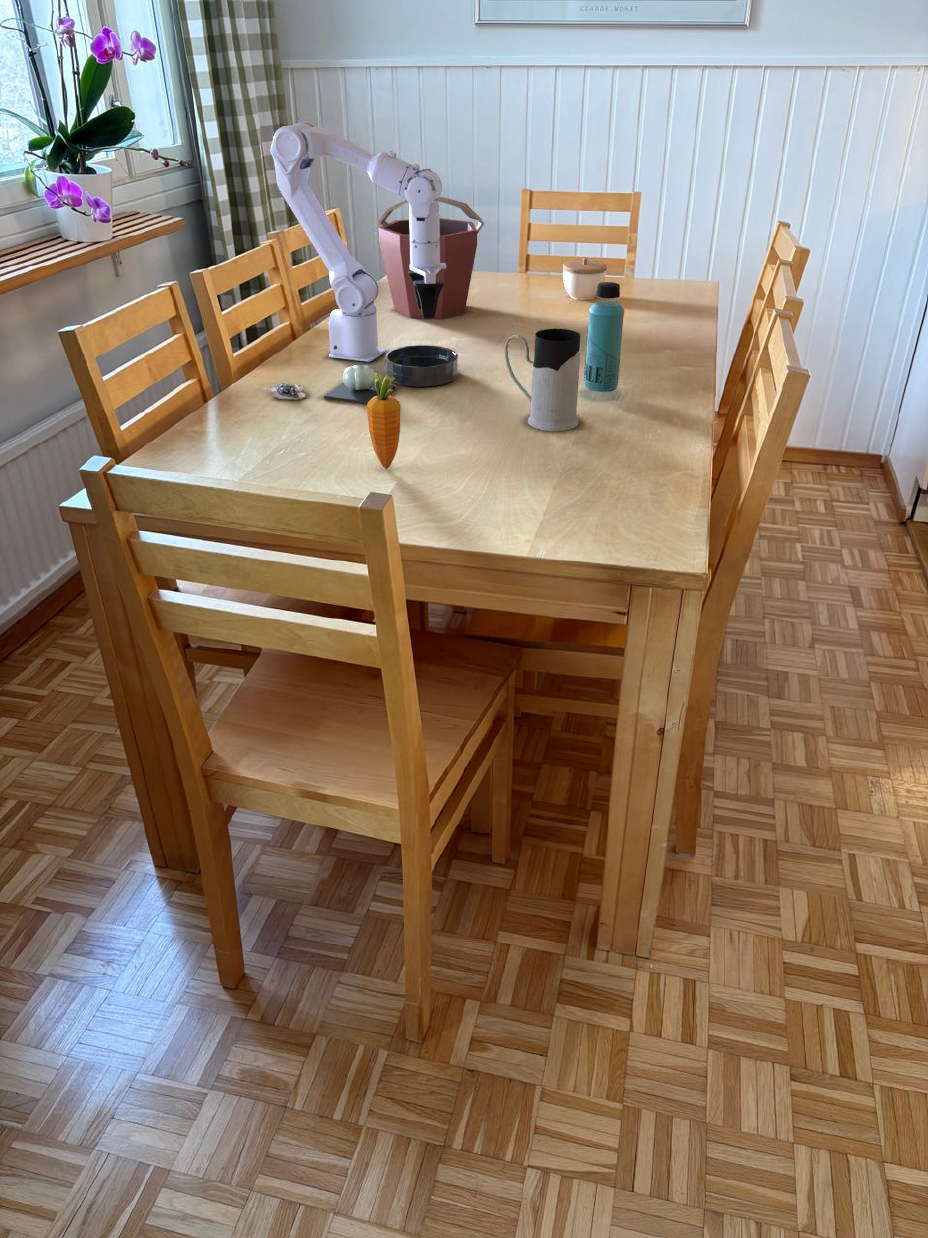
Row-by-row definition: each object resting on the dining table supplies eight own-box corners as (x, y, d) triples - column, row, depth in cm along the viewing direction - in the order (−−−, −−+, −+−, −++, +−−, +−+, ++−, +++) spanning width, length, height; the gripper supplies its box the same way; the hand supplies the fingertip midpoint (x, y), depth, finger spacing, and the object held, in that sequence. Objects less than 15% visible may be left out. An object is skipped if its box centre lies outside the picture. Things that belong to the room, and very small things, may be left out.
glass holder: (564, 434, 157) (569, 345, 149) (491, 418, 163) (492, 331, 155) (587, 418, 163) (593, 332, 155) (515, 403, 169) (518, 319, 161)
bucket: (498, 306, 226) (500, 194, 212) (447, 328, 210) (446, 208, 197) (414, 293, 237) (411, 185, 223) (361, 313, 221) (354, 198, 208)
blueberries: (292, 384, 178) (291, 374, 177) (317, 394, 173) (317, 384, 172) (262, 392, 174) (261, 382, 173) (287, 403, 169) (286, 393, 168)
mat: (323, 398, 172) (323, 395, 171) (348, 381, 180) (348, 379, 179) (373, 405, 169) (373, 402, 168) (395, 387, 177) (395, 385, 176)
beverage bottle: (620, 390, 175) (631, 280, 165) (613, 402, 170) (624, 288, 159) (586, 386, 177) (594, 277, 166) (578, 398, 172) (586, 285, 161)
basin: (374, 383, 179) (372, 362, 177) (403, 361, 190) (402, 342, 188) (442, 391, 175) (441, 370, 173) (468, 369, 186) (468, 349, 184)
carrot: (370, 462, 147) (365, 368, 139) (402, 461, 147) (398, 367, 139) (370, 475, 143) (365, 379, 135) (403, 474, 143) (399, 378, 135)
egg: (344, 391, 171) (342, 366, 170) (343, 389, 175) (341, 365, 174) (377, 389, 172) (376, 365, 171) (376, 388, 176) (374, 364, 175)
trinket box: (562, 291, 239) (564, 252, 234) (604, 292, 238) (607, 253, 233) (560, 301, 230) (562, 261, 225) (604, 303, 229) (607, 263, 224)
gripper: (451, 247, 173) (451, 321, 181) (440, 232, 185) (440, 302, 193) (413, 248, 172) (415, 323, 180) (404, 233, 184) (406, 304, 192)
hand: (426, 312), depth 186 cm, fingers open, 7 cm apart
